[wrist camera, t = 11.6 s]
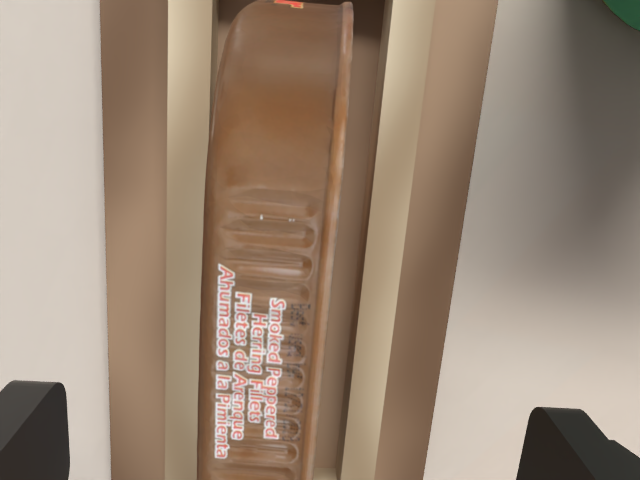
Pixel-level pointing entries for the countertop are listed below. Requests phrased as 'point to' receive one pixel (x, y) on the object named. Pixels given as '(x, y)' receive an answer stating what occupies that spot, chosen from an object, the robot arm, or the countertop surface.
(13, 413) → the robot arm
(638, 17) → the beverage can
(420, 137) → the cradle
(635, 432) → the countertop surface
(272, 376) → the tin
